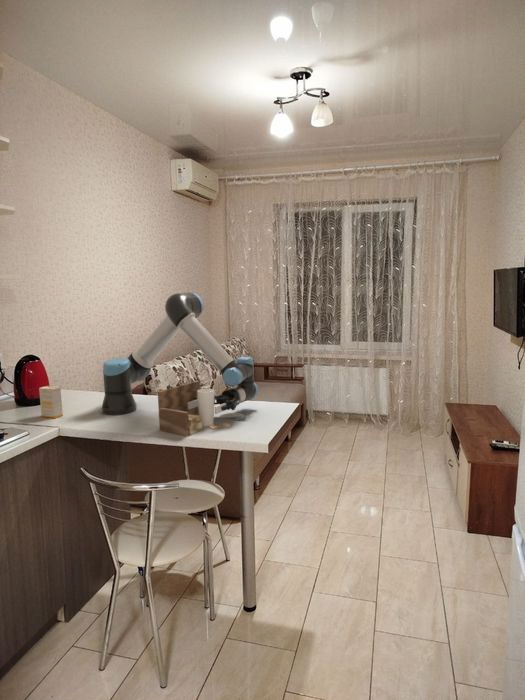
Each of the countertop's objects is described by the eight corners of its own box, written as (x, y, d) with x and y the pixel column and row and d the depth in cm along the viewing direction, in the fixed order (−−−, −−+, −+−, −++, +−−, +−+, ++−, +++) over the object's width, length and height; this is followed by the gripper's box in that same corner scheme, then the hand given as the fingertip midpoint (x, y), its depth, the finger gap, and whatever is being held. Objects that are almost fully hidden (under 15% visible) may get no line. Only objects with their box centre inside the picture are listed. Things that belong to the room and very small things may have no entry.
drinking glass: (198, 424, 193) (197, 388, 191) (215, 424, 193) (214, 388, 191) (197, 430, 186) (196, 392, 184) (215, 429, 187) (214, 391, 184)
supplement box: (63, 415, 209) (61, 386, 208) (54, 418, 205) (52, 389, 203) (50, 414, 213) (47, 385, 211) (41, 416, 209) (38, 387, 207)
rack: (198, 417, 203) (197, 380, 201) (226, 422, 196) (225, 384, 193) (157, 433, 183) (155, 392, 180) (186, 439, 175) (185, 397, 173)
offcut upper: (188, 420, 184) (188, 414, 184) (199, 421, 182) (199, 415, 182) (180, 424, 179) (179, 418, 179) (191, 426, 177) (191, 419, 177)
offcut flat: (227, 427, 190) (227, 422, 190) (231, 430, 186) (231, 425, 186) (208, 430, 186) (208, 425, 186) (212, 433, 183) (212, 428, 182)
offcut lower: (190, 427, 186) (190, 419, 185) (202, 429, 182) (202, 422, 182) (178, 432, 180) (177, 424, 179) (190, 434, 176) (190, 426, 176)
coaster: (218, 415, 207) (218, 413, 206) (243, 413, 208) (243, 412, 208) (219, 422, 196) (219, 420, 196) (246, 420, 197) (246, 419, 197)
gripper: (257, 408, 198) (227, 421, 180) (210, 401, 211) (177, 413, 193) (257, 391, 197) (227, 402, 179) (209, 385, 210) (177, 395, 192)
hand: (201, 408), depth 186 cm, fingers open, 13 cm apart
